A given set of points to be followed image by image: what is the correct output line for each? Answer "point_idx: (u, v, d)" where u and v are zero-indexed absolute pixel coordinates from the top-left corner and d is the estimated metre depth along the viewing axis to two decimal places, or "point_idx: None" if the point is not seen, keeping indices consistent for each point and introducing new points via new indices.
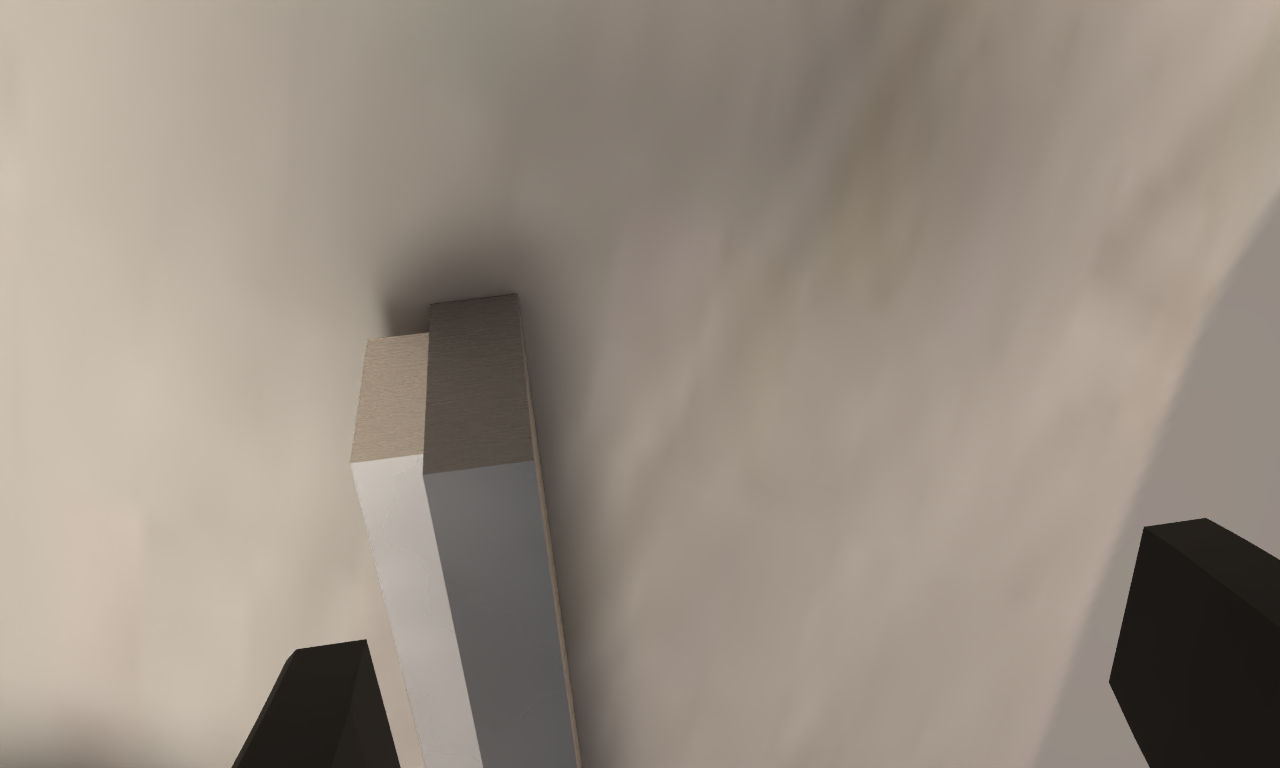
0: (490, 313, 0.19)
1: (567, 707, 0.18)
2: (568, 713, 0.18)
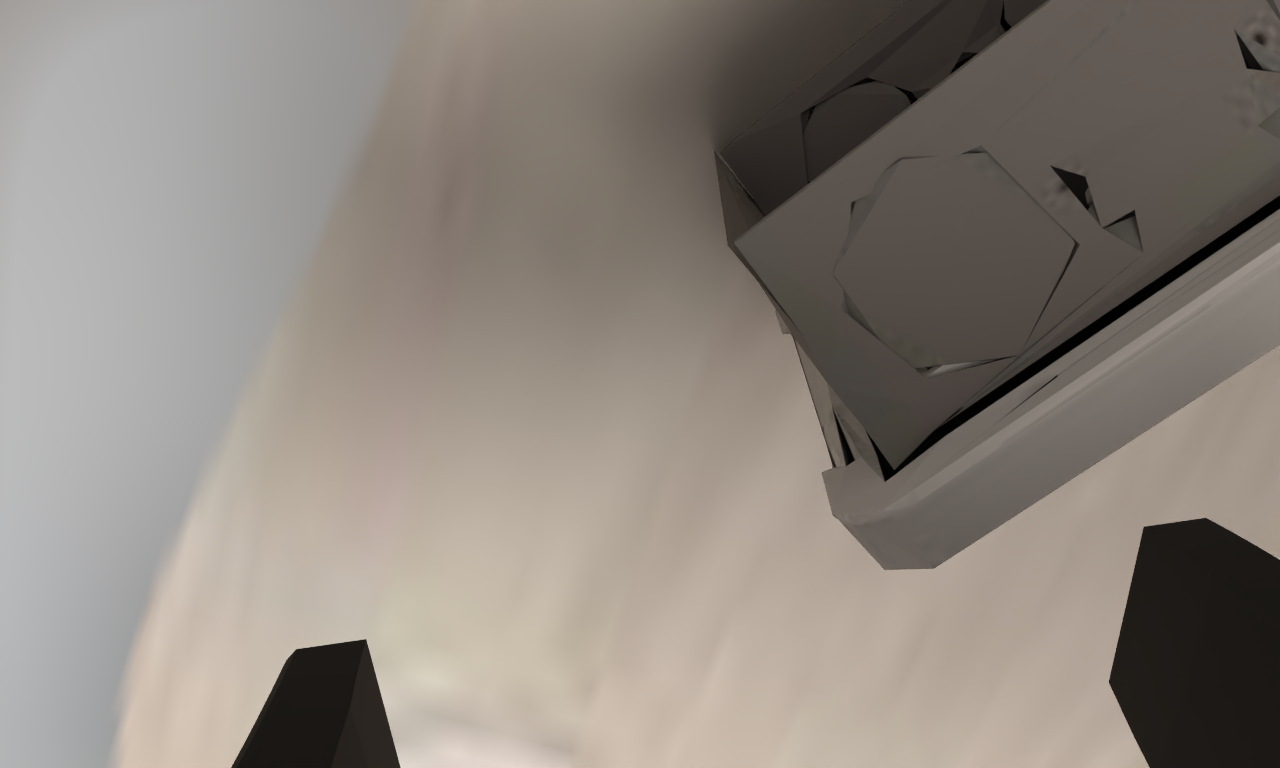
0: None
1: None
2: None
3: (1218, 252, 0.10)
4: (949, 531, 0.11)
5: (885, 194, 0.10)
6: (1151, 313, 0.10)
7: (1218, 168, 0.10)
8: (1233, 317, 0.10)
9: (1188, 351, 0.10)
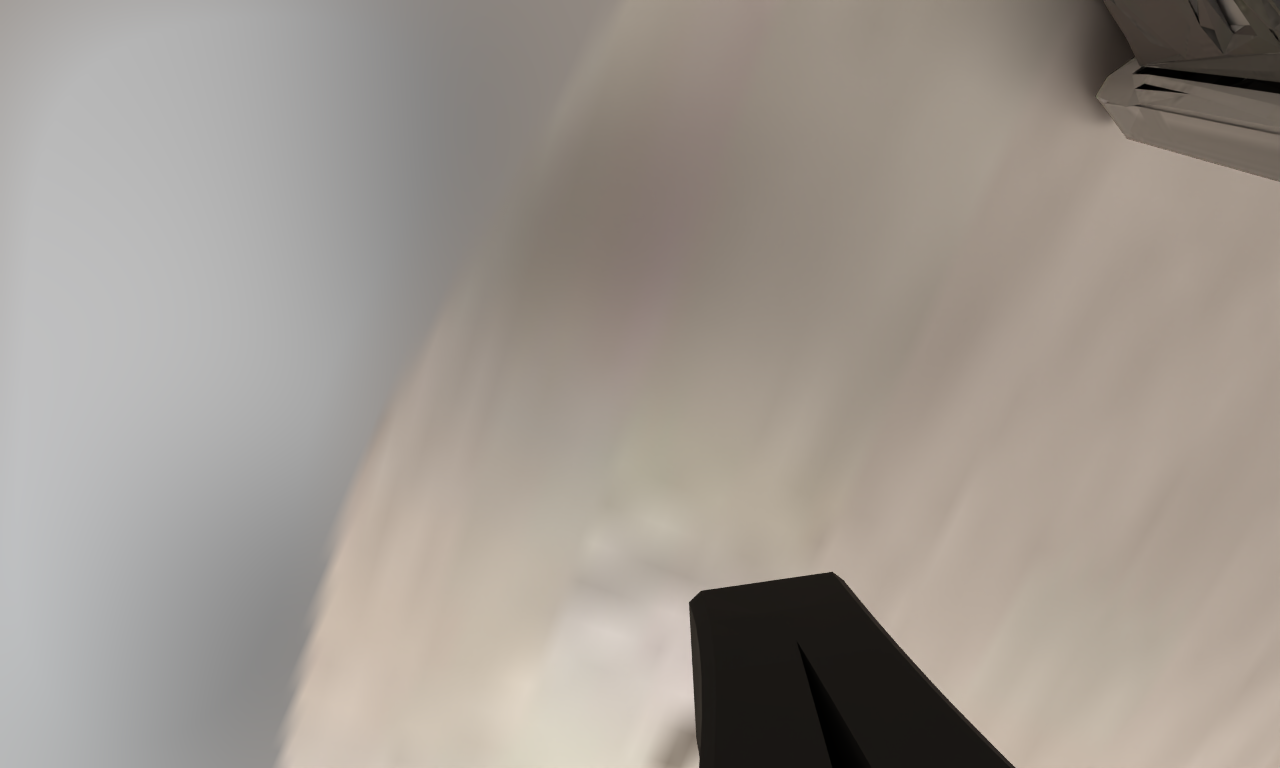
0: None
1: None
2: None
3: None
4: None
5: None
6: None
7: None
8: None
9: None
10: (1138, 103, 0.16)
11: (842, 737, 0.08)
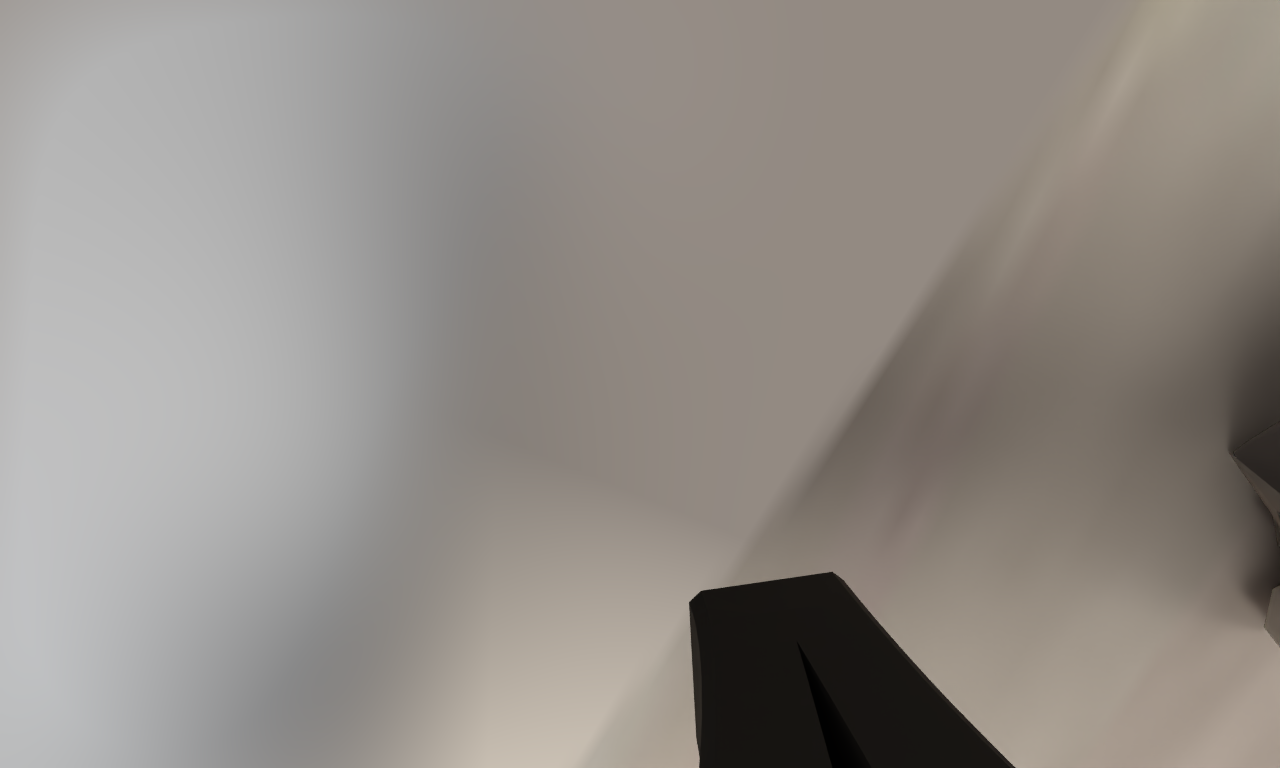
0: None
1: None
2: None
3: None
4: None
5: None
6: None
7: None
8: None
9: None
10: None
11: (842, 737, 0.08)
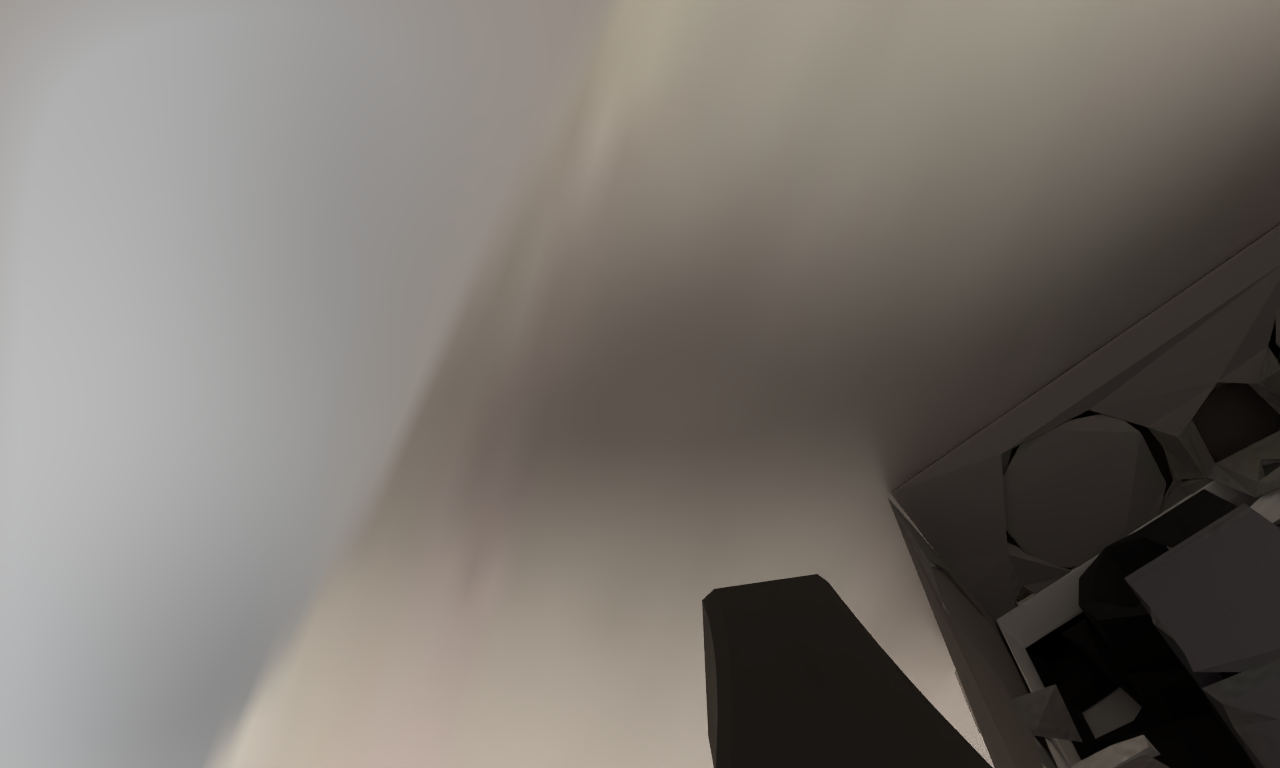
0: None
1: None
2: None
3: None
4: None
5: None
6: None
7: None
8: None
9: None
10: None
11: (823, 740, 0.08)
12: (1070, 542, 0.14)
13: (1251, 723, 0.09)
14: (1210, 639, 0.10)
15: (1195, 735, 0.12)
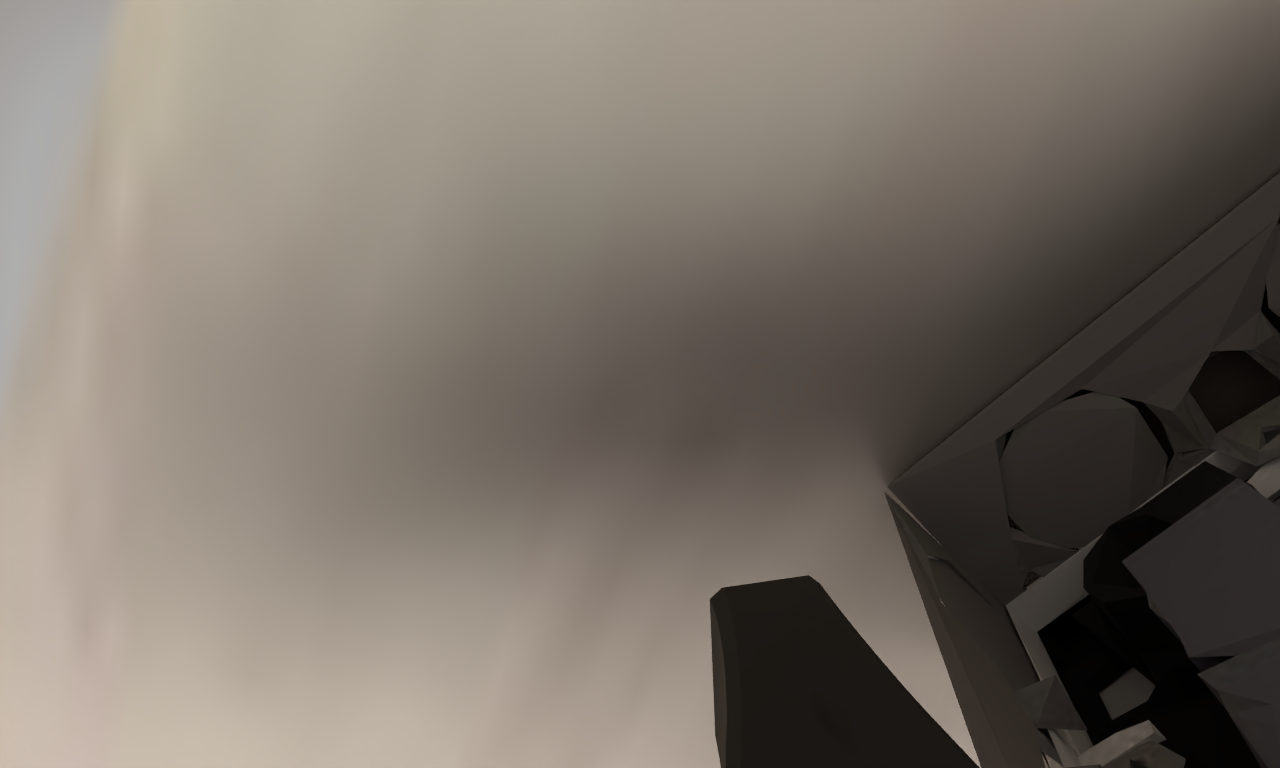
0: None
1: None
2: None
3: None
4: None
5: None
6: None
7: None
8: None
9: None
10: None
11: (812, 742, 0.08)
12: (1073, 522, 0.14)
13: (1245, 709, 0.09)
14: (1205, 621, 0.10)
15: (1209, 713, 0.12)
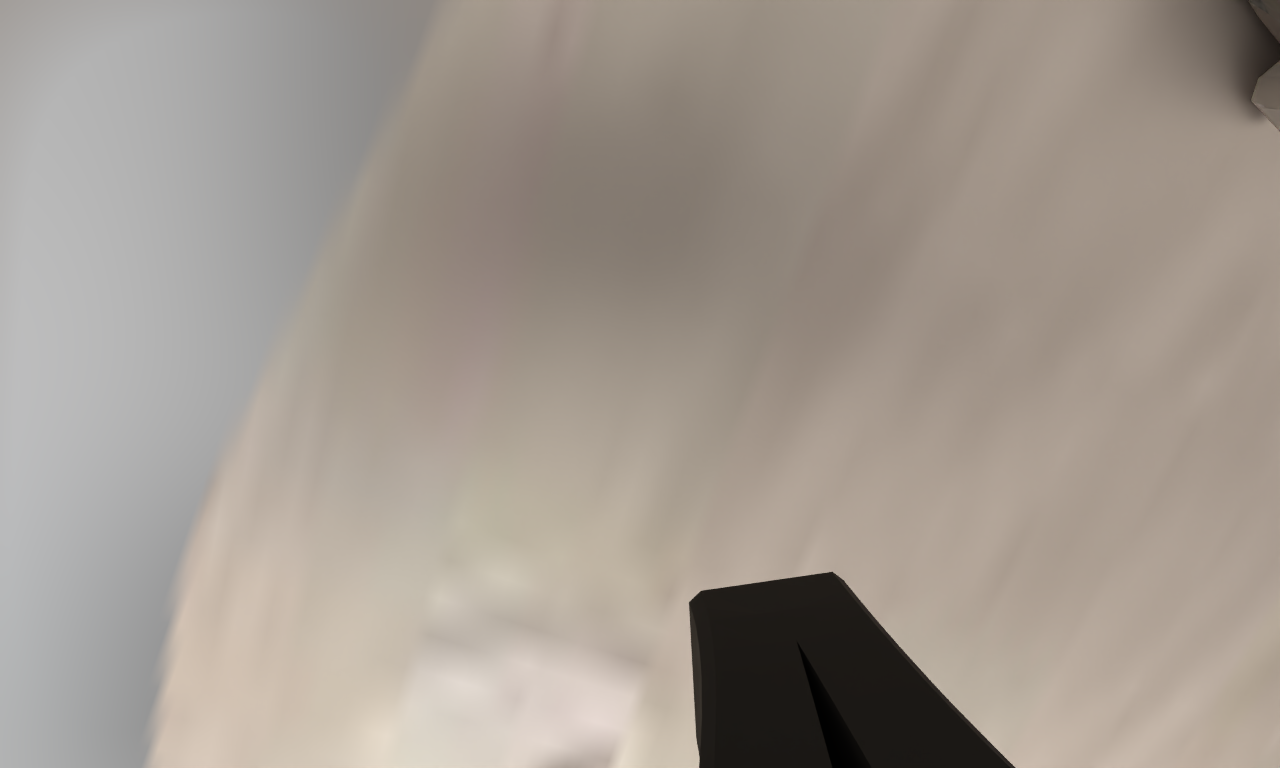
0: None
1: None
2: None
3: None
4: None
5: None
6: None
7: None
8: None
9: None
10: None
11: (842, 737, 0.08)
12: None
13: None
14: None
15: None
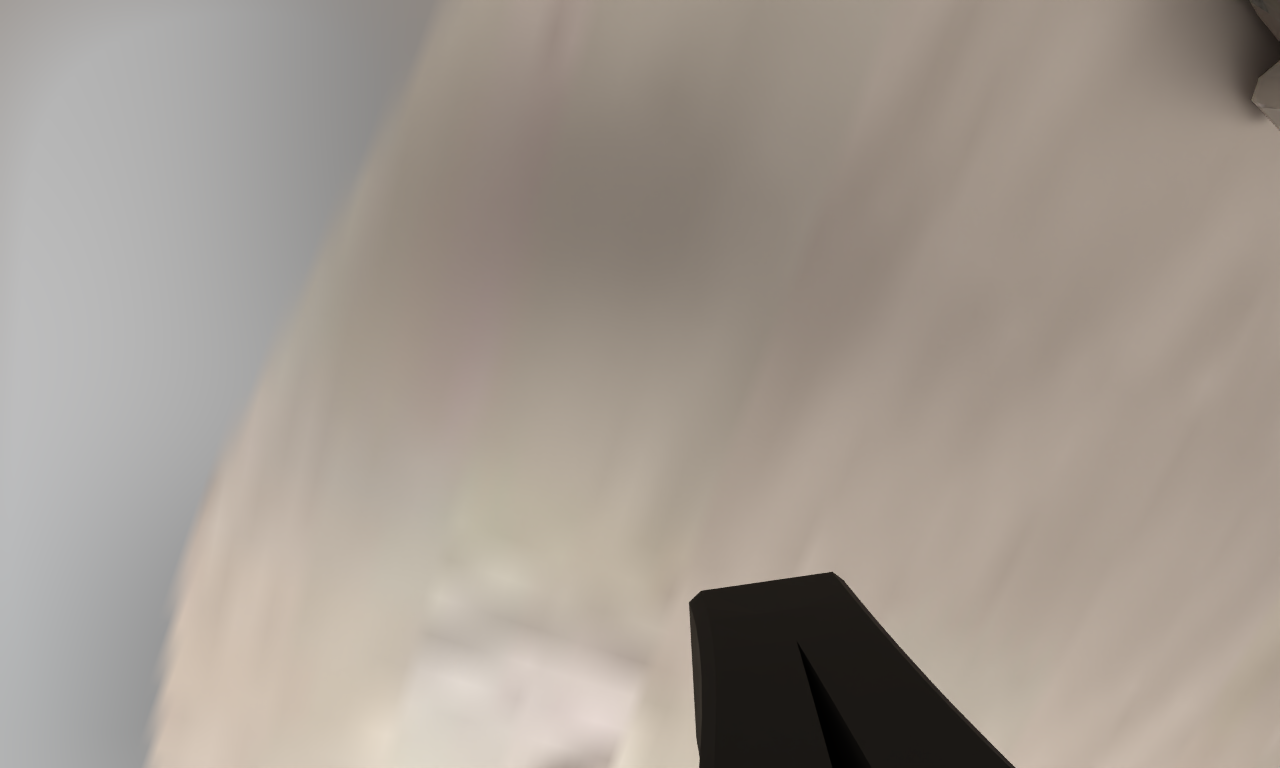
0: None
1: None
2: None
3: None
4: None
5: None
6: None
7: None
8: None
9: None
10: None
11: (842, 737, 0.08)
12: None
13: None
14: None
15: None
